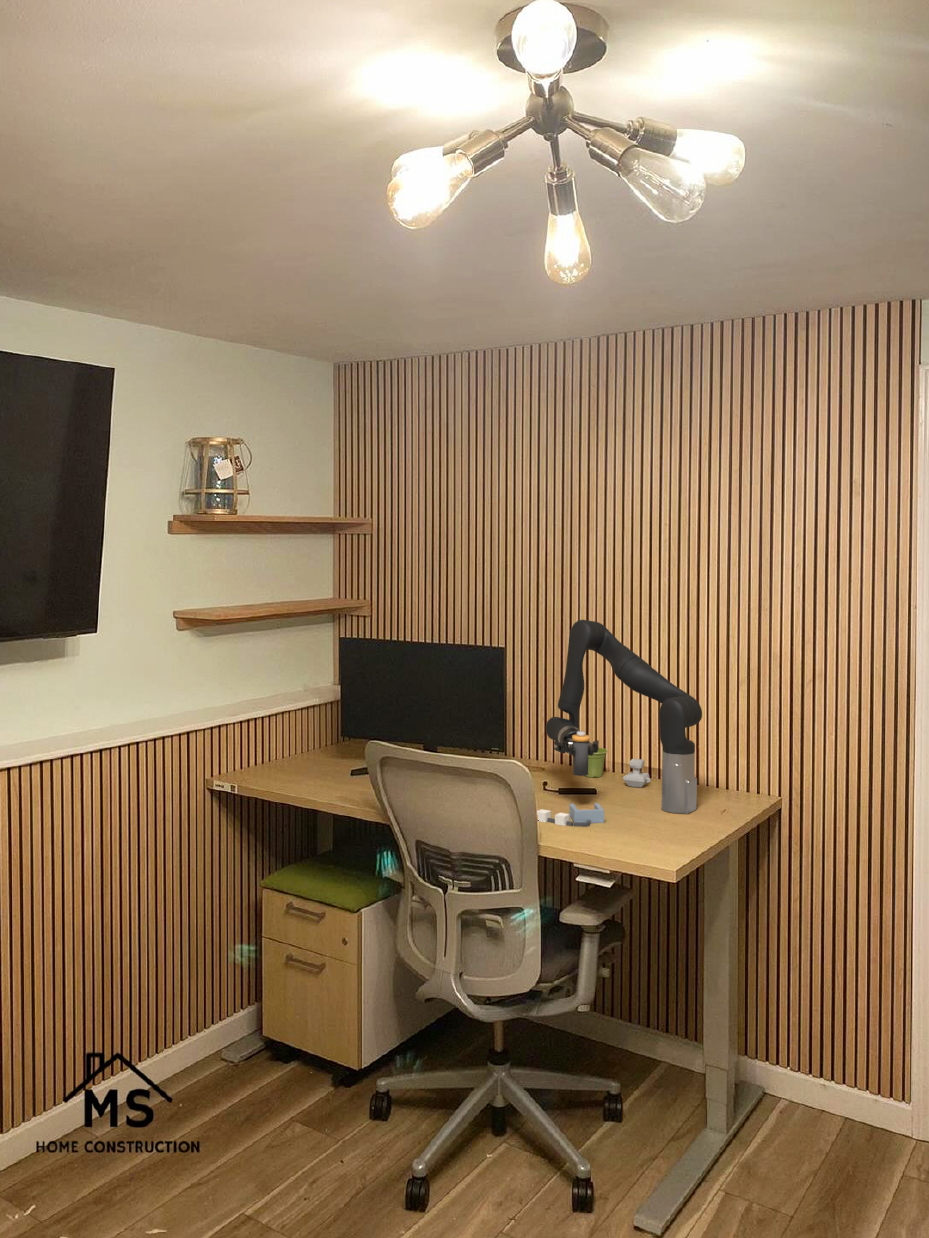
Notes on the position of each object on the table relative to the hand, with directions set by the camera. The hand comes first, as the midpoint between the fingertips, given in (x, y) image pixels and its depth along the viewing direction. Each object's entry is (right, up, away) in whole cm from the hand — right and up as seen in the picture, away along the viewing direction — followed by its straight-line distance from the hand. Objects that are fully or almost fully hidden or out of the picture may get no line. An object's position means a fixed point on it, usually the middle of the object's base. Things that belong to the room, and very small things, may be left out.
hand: (582, 752), depth 290 cm
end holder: (0, -18, -5) cm, 19 cm away
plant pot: (+9, -14, +46) cm, 49 cm away
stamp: (+21, -15, +32) cm, 41 cm away
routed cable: (-6, -18, -8) cm, 21 cm away
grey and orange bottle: (0, -7, +3) cm, 8 cm away
